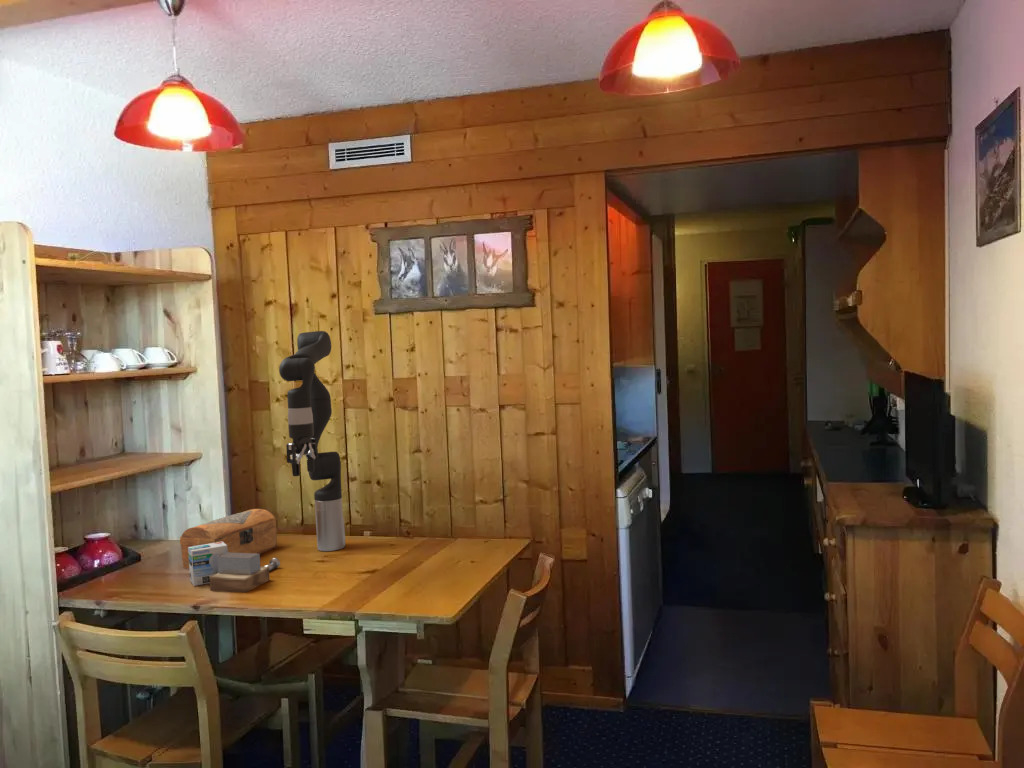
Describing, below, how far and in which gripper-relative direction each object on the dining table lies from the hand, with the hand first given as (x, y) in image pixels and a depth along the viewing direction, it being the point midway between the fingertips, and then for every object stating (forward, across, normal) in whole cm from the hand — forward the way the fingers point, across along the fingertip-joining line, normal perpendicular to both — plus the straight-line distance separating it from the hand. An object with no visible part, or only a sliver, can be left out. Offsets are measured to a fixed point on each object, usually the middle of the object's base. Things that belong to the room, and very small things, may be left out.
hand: (303, 473), depth 255 cm
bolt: (+30, -4, +12) cm, 33 cm away
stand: (+30, -19, +12) cm, 38 cm away
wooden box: (+31, +9, +35) cm, 48 cm away
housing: (+26, -19, +12) cm, 34 cm away
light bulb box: (+30, -16, +25) cm, 42 cm away
